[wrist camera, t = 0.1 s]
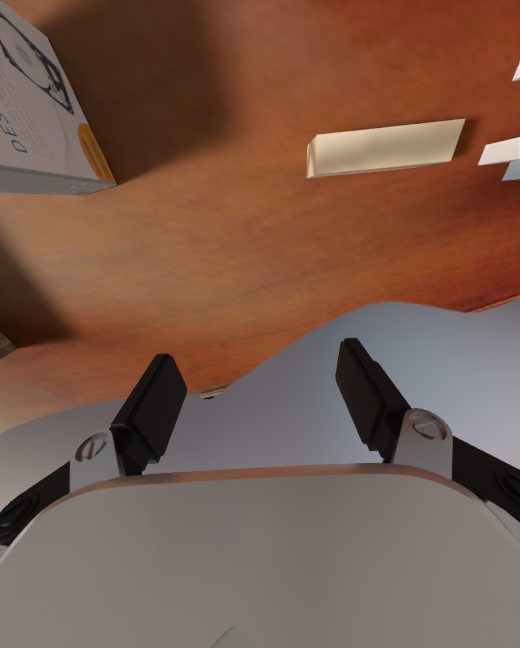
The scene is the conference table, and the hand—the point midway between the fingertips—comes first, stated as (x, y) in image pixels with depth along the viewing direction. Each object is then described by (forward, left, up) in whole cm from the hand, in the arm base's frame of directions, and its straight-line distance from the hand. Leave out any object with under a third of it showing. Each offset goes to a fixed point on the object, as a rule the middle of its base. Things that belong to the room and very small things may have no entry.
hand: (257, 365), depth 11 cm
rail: (-12, +18, -31) cm, 38 cm away
